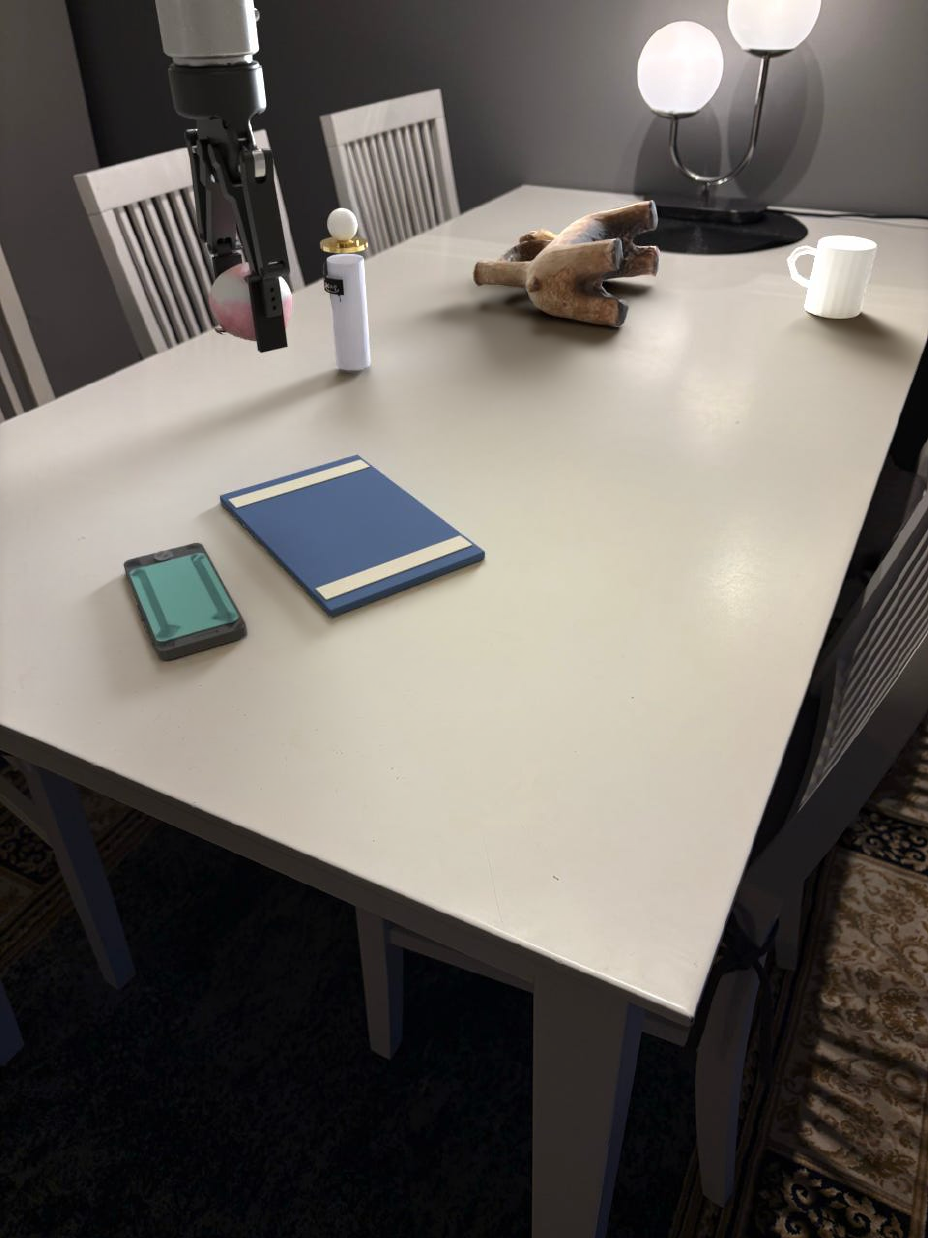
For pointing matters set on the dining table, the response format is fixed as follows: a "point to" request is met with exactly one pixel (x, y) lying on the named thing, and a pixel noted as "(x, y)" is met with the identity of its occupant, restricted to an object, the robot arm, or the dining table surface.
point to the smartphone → (183, 601)
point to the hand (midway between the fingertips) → (254, 335)
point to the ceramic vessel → (579, 264)
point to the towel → (349, 533)
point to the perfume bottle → (347, 291)
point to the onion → (240, 302)
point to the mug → (836, 275)
